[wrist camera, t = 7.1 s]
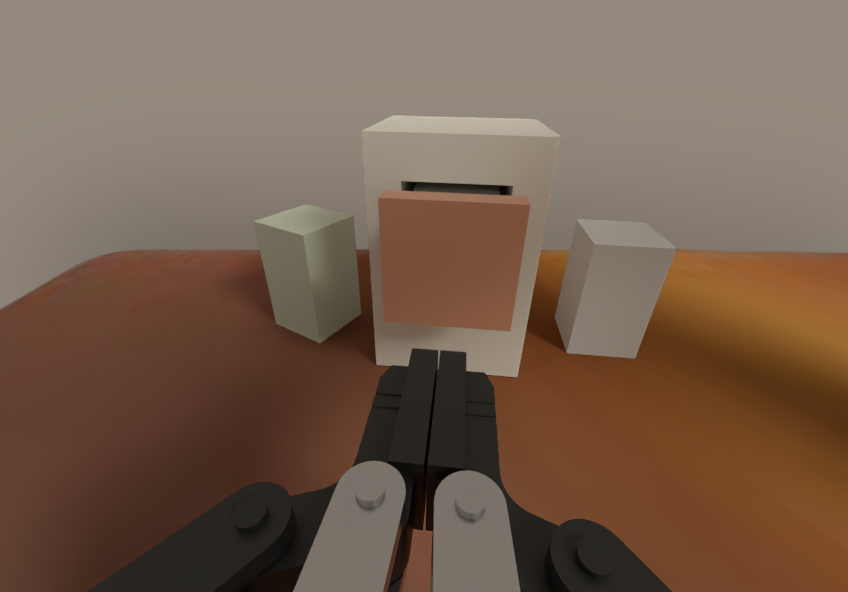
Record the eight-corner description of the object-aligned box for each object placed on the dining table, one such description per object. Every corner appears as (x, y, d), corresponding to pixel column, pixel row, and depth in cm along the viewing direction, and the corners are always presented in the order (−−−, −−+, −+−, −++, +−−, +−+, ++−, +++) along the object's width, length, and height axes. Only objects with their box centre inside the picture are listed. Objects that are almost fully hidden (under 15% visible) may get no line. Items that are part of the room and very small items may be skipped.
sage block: (361, 314, 30) (353, 215, 26) (319, 343, 26) (303, 235, 22) (319, 298, 32) (306, 204, 28) (276, 323, 28) (253, 221, 24)
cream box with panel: (397, 301, 31) (393, 115, 24) (507, 309, 31) (536, 119, 23) (376, 364, 24) (361, 130, 17) (517, 377, 24) (561, 137, 17)
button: (411, 247, 26) (410, 155, 23) (499, 252, 26) (510, 159, 22) (383, 321, 18) (378, 197, 15) (510, 331, 18) (530, 204, 15)
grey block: (614, 321, 29) (645, 222, 25) (635, 358, 26) (676, 248, 21) (554, 317, 30) (576, 219, 26) (566, 353, 26) (594, 244, 22)
